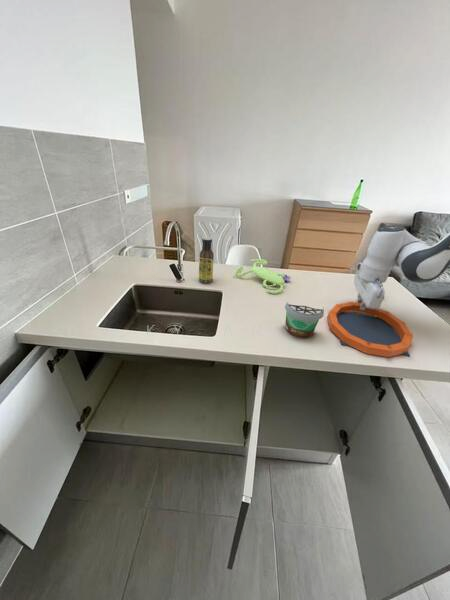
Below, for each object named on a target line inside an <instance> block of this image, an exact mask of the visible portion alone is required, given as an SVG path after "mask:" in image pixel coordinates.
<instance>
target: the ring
mask: <svg viewBox="0 0 450 600" xmlns="http://www.w3.org/2000/svg"><path fill="white" fill-rule="evenodd" d="M360 304H362V303H357V302H356V301H347V302H342V303H335V305H334V306H333V307H332V308H331V309H330V310H329V311H328V313H327V317H326V318H327V323H328V327H329V330H330V331H331V332H332V333H333V334H334V335H335V336H336V337H337V338H338V339H339V341H340V340H341V341H342V342H343V343H346V344H348V345H350V346H352V347H351V348H354V349H356V350H358V351H360V352H362V353H363V354H369V355H374V356H381V357H386V358H391V357H395V356H400V355H399V354H403V353H406V351H408V350H409V349H410V346H411V343H412V341H413V338H414V335H413V333H412V332H411V330H410V329H409V327H408V325H407V324H406V323H405V321H403V320H401V319H400V318H399V317H397V316H395V315H394V314H393V313H391V312H389V311H388V310H384V309H382V308H381V307H380V308H379V309H377V310H373V309H368V308H367V307H366V308H365V310H360V308H359V305H360ZM341 312H346V313H347V312H358V313H364V314H368V315H370V316H373V317H378V318H381V319H383V320H384V321H386V322H387V323H388V324H390V325H391V326H392V327H393V329H394V330H395V332H396V333H397V335H398V337H399V338H400V340H401V342H400V343H397V344H393V345H389V346H386V345H380V344H374V343H368V342H366V341H364V340H362V339H360V338H358V337H356V336H353V335H351V334H350V333H349V332H347V331H346V330H345V329H344V328H343V327H342V326H341V325H340V324H339V323H338V320H337V315H338V314H339V313H341Z"/></svg>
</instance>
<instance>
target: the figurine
mask: <svg viewBox="0 0 450 600" xmlns="http://www.w3.org/2000/svg"><path fill="white" fill-rule="evenodd" d="M250 262H252V263H253V266H252V267H250V268H251V269H249V270H247V271H243V270H244V267H243V266H240V267H239V268H238V269H237V270H236V272H235V274H234V276H235V277H240V278H241V277H243V276H245V275H247V274H250V273H252V272H253V274H255V275H256V276H258V277H259V278H261V280H263V281H262V285H263V286H264V287H266V292H267V293H269V294H273V295H275V294H276V295H277V294H280V293H281V292H282V291H283V290H284V285H285V284H286V282H289V281H290V280H291V276H289V275H287V274H285V273H281V272H278V273H276V272H274V271H272V270H270V269H268V268H264V267H261V266H257V265H264V266H267V265H268V261H267V260H265V259H263V258H262V259H261V258H260V259H250ZM267 282H269V283H271V285H268V284H267ZM275 286H280V287H279V288H278V289H277V290H270V289H269V288H268V287H275Z"/></svg>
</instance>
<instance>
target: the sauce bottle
mask: <svg viewBox="0 0 450 600" xmlns="http://www.w3.org/2000/svg"><path fill="white" fill-rule="evenodd" d="M201 240H202V241H201V242H202V247H201V250H200V252H199V258H198V281H199V282H200V283H202V284H210V283H212V282H213V277H214V276H213V275H214V259H215V258H214V252H213V250H212V243H213V238H212V237H210V236H203V237H202V239H201Z"/></svg>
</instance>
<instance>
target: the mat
mask: <svg viewBox="0 0 450 600" xmlns="http://www.w3.org/2000/svg"><path fill="white" fill-rule="evenodd" d="M337 320H338V323H339V324H340V325H341V326H342V327H343V328H344V329H345V330H346V331H347V332H349V333H350V334H351V335H353V336H356V337H358V338H360V339H362V340H364V341H366V342H368V343H374V344H380V345H386V346H389V345H393V344H397V343H400V342H401V340H402V339H401V338H400V336H399V334H398V333H397V331H396V330H395V328H394V327H392V326H391V325H390V324H388V323H387V322H386V321H384V320H383V319H381V318H378V317H376V316H373V315H365V314H359V313H352V312H347V311H346V312H341V313H339V314H338V315H337ZM339 343H340V346H344V347H349V348H350V347H351V348H353V347H352V346H350V345H348V344H346V343H343V342H342V341H341V340H340V339H339ZM398 356H403V357H411V355H410V353H409V351H408V350H407V351H406V353H403V354H399V355H398Z"/></svg>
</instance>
